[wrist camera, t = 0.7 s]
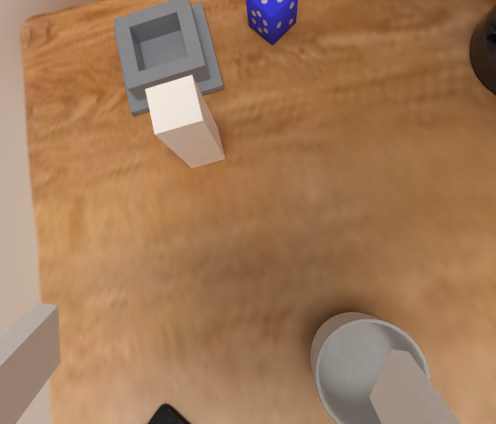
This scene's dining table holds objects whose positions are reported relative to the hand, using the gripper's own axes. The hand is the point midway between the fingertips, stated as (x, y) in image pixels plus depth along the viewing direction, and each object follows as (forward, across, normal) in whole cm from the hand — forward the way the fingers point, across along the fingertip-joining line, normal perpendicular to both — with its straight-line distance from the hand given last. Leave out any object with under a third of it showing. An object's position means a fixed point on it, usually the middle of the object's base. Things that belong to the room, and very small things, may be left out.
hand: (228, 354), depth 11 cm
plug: (+32, -5, +4) cm, 32 cm away
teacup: (+17, +18, -16) cm, 30 cm away
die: (+39, +1, +23) cm, 45 cm away
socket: (+38, -13, +15) cm, 43 cm away
